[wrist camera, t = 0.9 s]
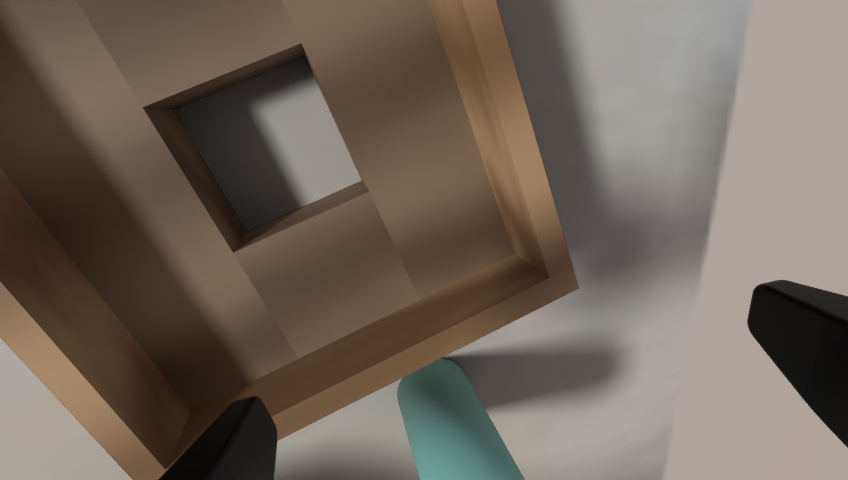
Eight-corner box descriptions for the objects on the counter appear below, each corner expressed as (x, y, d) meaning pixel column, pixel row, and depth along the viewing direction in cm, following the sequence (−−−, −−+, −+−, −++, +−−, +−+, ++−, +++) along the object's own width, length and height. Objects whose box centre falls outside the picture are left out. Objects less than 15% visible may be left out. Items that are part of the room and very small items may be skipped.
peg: (476, 399, 24) (576, 580, 14) (413, 432, 23) (475, 639, 14) (452, 346, 22) (546, 508, 13) (385, 379, 22) (433, 571, 13)
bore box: (511, 244, 21) (578, 288, 16) (201, 394, 20) (154, 502, 14) (369, -173, 15) (397, -343, 10) (-103, -7, 14) (-402, -95, 8)
